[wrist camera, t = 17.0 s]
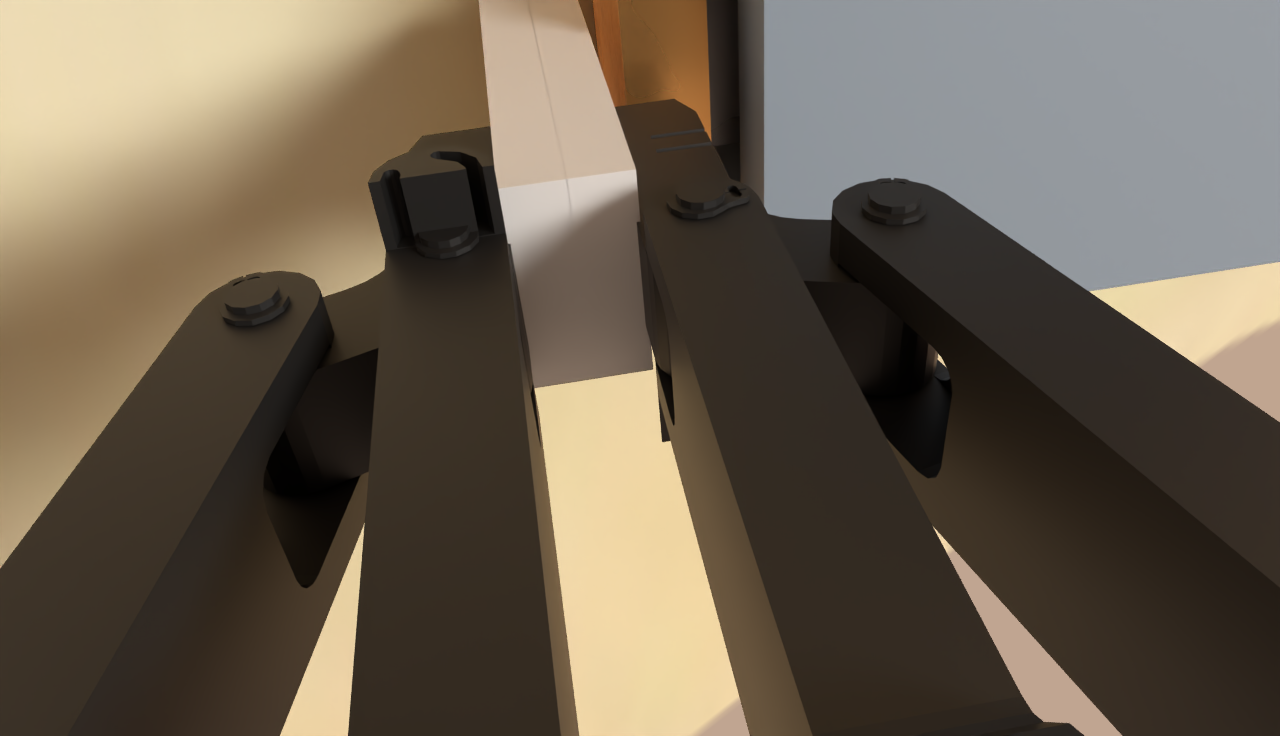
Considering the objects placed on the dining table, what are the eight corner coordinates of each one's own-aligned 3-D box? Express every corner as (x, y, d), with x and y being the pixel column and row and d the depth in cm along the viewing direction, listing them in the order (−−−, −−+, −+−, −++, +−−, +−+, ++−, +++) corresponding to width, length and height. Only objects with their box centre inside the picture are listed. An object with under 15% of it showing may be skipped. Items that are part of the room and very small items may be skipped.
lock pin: (608, 152, 19) (640, 261, 16) (582, -97, 16) (614, -25, 13) (1311, 54, 20) (1472, 139, 17) (1396, -195, 17) (1606, -149, 14)
